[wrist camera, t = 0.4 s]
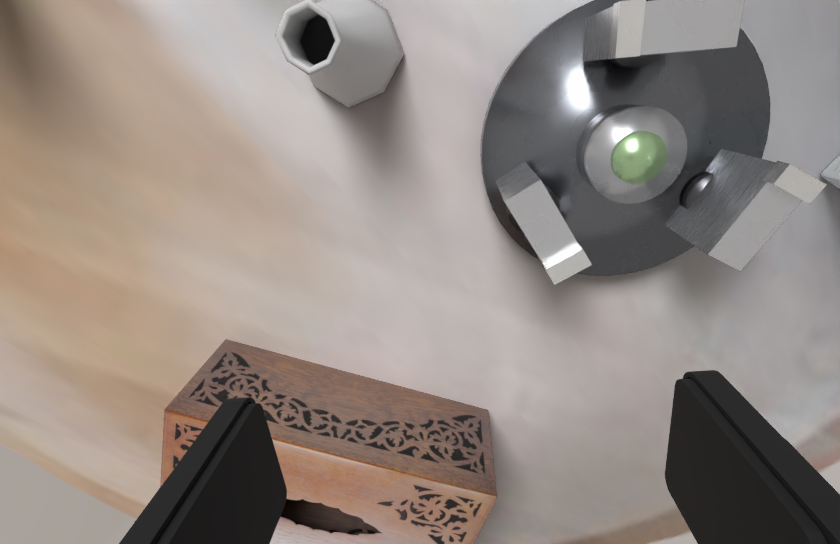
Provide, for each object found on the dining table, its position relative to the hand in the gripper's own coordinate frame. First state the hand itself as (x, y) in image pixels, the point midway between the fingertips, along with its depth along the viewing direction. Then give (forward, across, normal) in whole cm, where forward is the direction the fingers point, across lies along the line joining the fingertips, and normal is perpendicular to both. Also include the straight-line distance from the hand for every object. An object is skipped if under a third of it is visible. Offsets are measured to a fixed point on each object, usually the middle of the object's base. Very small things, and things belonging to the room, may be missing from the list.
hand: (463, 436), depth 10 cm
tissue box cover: (+28, +13, +23) cm, 39 cm away
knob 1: (+24, -12, -9) cm, 29 cm away
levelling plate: (+26, -12, -2) cm, 29 cm away
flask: (+27, +6, -11) cm, 29 cm away
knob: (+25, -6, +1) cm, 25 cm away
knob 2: (+24, -18, +1) cm, 30 cm away
